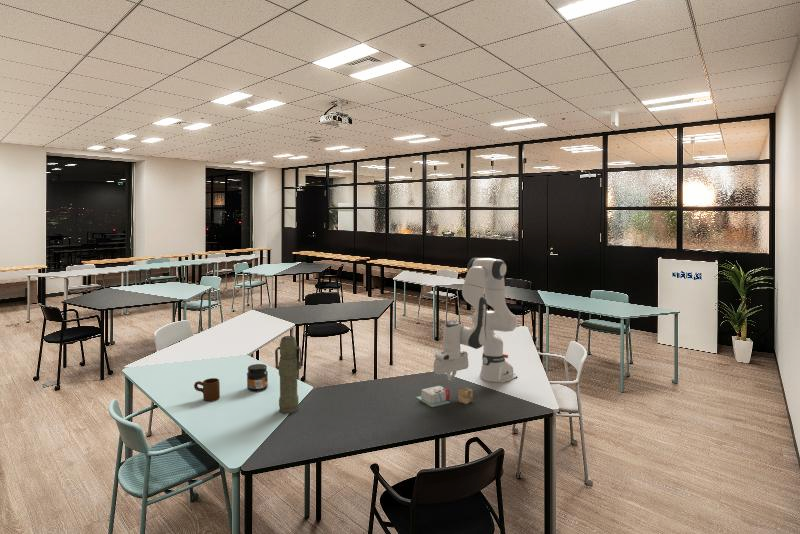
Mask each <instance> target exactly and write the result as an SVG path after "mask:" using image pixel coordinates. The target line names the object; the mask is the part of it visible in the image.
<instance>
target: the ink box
mask: <svg viewBox="0 0 800 534" xmlns="http://www.w3.org/2000/svg"><path fill="white" fill-rule="evenodd" d="M420 392H421V395H420V396H421V398H422V399H423V400H425V401H426V402H428V403H430V404H433V403H437V402H441V401H444V400H447V401H448V400H450V398H451V395H450V394H451V393H450V389H447V388H445V387H443V386H441V385H437V386H431V387H426V388H423V389H421V390H420Z"/></svg>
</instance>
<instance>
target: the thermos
mask: <svg viewBox="0 0 800 534" xmlns="http://www.w3.org/2000/svg"><path fill="white" fill-rule="evenodd" d="M297 350H299V351H298V353H299V354H298V355H299V357H297ZM278 352H279V353H278ZM279 356H280V357H279ZM298 359H299V361H298ZM274 360H275V369H276V370H277V371H278V376H279V399H278V407H279V413H280V414H283V415H290V414H294V413H297V412H298V411H299V404H300V403H299V394H298V374H299V370H301V369H302V349H301V347H300V346H298V345H297V340H296V337H294V336H293V335H285V336H282V337H281V338H280V343H279V346H278V347H276V348H275V350H274Z"/></svg>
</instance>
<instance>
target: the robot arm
mask: <svg viewBox="0 0 800 534" xmlns="http://www.w3.org/2000/svg"><path fill="white" fill-rule="evenodd" d="M507 269H508V266H507V264H506V263H505V260H502V259H500V258H499V259H498V258H497V259H496V258H492V257H472V258H471V259H470V260H469V261H468V263H467V273H466V276H465V278H464V282H463V284H462V285H463V286H462V291H461V295H462V297H463V299H464V301H466V303H468V304H469V305H471V306H472V307H473V308H474V310H475V311H474V313H473V314H472V317H471V322H472V324H473V326H474V327H471V326H467V325H462V324H461V323H460V322H459V321H456V320H452V321H447V322H446V323H445V325H444V327H443V336H442V339H443V346H442V349H441V350H439V351H438V352H435V353H434V362H433V372H434V374H436V375H440V376H441V375H444V374H446V376H447V380H448V381H452V380H455V377H456V374H457V371H462V370H467V369H468V368H469V357H468V356H469V353H468V352H467V351H466V350H463V351H462V350H461V345H464V346H467V347H470V348H472V349H475V350H477V349H481V348H482V349H483V350H482V351H483V352H482V356H481V357H482V358H481V359H482V363H481V370H480V371H479V372H480V374H479V378H480V379H481V380H484V381H486V382H490V383H491V382H493V383H500V384H501V383H502V384H503V383H506V381H507V382H509V381H511V380H514V379H517V378H518V374H516V373H515V372H514V367H513V365H512V364H510V363H509V362H508V361H506V359H508V358H509V355H508V354H505V353H504V341H503V340H502V338H501V337H500V336H498V335H497V334H496V333H495V331H496V332H504V333H507V332H514V331H515V329H516V328H517V325H518V319H517V316H516V315H515V314H513V312H511V311H510V309H509V308H508V306H507V303H506V296H505V295H506V294H505V292H506V291H505V276H506V274H507V271H508V270H507ZM488 306H490V307H491V308H492V309H493V310H487V309H488ZM516 377H517V378H516Z"/></svg>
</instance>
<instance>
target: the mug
mask: <svg viewBox="0 0 800 534" xmlns="http://www.w3.org/2000/svg"><path fill="white" fill-rule="evenodd" d="M199 385H200V386H201V387H199ZM193 387H194V390H195V391H197V392H201V393H202V395H203V397H202V398H203V401H205V402H208V403H209V402H215V401H218V400H219V399H220V398H221V395H220V394H221V393H220V389H221V388H220V387H221V385H220V379H219V378H214V377H211V378H206V379H204V380H203V381H201V380H198V381H196V382H194V384H193Z"/></svg>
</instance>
